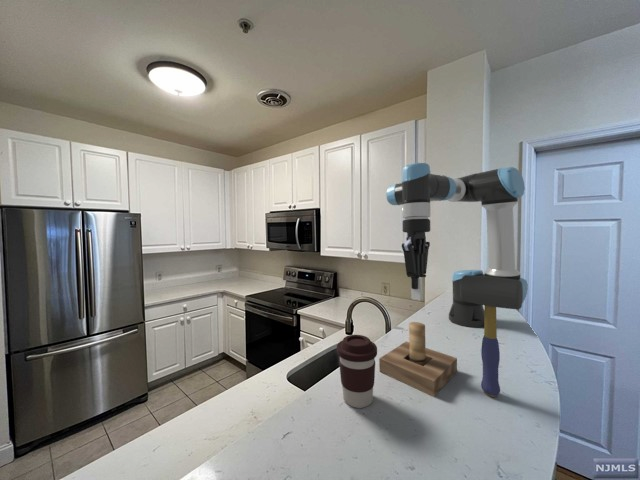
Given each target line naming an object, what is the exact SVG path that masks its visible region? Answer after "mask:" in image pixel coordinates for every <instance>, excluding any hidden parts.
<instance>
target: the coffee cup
mask: <svg viewBox="0 0 640 480" xmlns="http://www.w3.org/2000/svg"><path fill="white" fill-rule="evenodd" d="M336 354H337V355H338V356H339V361H338V363H339V364H338V365H339V374H340V383H341V386H342V387H341V388H342V397H343V400H344V402H345V403H346V405H349V406H350V407H353V408H359V409H361V408H366V407H368V406H370V405H371V404H372V402H373V400H374V399H373V395H374V385H375V377H376V376H375V375H376V374H375V373H376V360H375V358H377V355H378V347H377V345H376V344H375V342H373V341H371V340H370V338H369V337H367V336H365V335H363V334H349V335H346V336H344V338H343V339H342V340H340V341H339V342H338V343H337V344H336Z"/></svg>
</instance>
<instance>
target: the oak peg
mask: <svg viewBox="0 0 640 480" xmlns="http://www.w3.org/2000/svg"><path fill="white" fill-rule="evenodd" d="M408 331H409V332H408V333H409V334H408V336H409V337H408V340H409V341H408V342H409V346H410V354H409V358H410V361H411V362H414V363H416V364H419V365H421V366H424V365H426V348H427V347H426V324H425V323H422V322H418V321H412V322H409V323H408Z"/></svg>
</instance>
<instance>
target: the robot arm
mask: <svg viewBox="0 0 640 480" xmlns="http://www.w3.org/2000/svg"><path fill="white" fill-rule="evenodd" d="M525 190H526V188H525V182H524V177H523V175H522V174H521V172H520V171H519V169H518V168H516V167H513V166H509V167H501V168H500V167H499V168H496V169H492V170H486V171H482V172H478V173H471V174H469V175H465V176H461V177H457V178H452V177H449V176H446V175H441V174H440V175H439V174H433V173H431V167H430V164H429V163H425V162H414V163H410V164H407V165H405V166H404V167H403V168H402V175H401V182H400V183H396V184H393V185H390V186H389V187H388V188H387V190H386V192H385V196H386V201H387V202H388V203H389V205H392V206H402V209H401V211H402V218H403V220H402V232H403V233H406V239H405V240H406V241H405V243H401V248H402V251H403V258H404V264H405V265H404V266H405V272H406V277H407V278H410V283H411V284H410V286H411V287H410V291H411V294H410V295H411V296H410V297H411V300H414V301H419V302H420V301H423V298H424V297H423V295H424V294H423V278H426V277H427V269H428V258H429V248H430V245H431V243H430V241H427V237H426V233H430V232H431V219H429V218H430V217H431V202H441V201H443V202H444V201H448V202H453V203H456V202H458V203H460V202H461V203H462V202H463V203H478V202H481V207H483V209H485V211H486V233H487V257H488V258H487V260H488V268H487V269H485V270H484V271H483V270H482V269H464V270H463V269H462V270H461V269H460V270H456V271H454V272H453V273H452V279H451V280H452V281H451V282H452V304H451V306H450V310H449V312H448V320H449V321H450V322H452V323H454V324H456V325H459V326H462V327H469V328H483V327H484V313H485V307H484V305H480V304H475V303H471V302H467V301H464V300H462V298H461V296H460V283H461V279H462V277H463V276H464V275H476V276H493V277H501V278H508V279H514V280H519V281H521V282H522V286H523V300H522V304H523V303H524V301H525V300H526V297H527V294H528V288H529V286H528V285H529V284H528V281H527V280H526V279H524V278H521V271H519V270H518V269H517V268H516V255H515V250H516V249H515V227H514V226H515V225H514V207H515V206H516V205H517V204H518V202H519V198H521V197H522V196H524V194H525Z"/></svg>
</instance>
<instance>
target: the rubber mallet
mask: <svg viewBox="0 0 640 480" xmlns="http://www.w3.org/2000/svg"><path fill="white" fill-rule="evenodd" d="M460 296H461V298H462V300H464V301H467V302H471V303H475V304H480V305H483V306H484V311H485V313H484V328H483V329H484V331H483V332H484V333H483V336H482V340H481V351H480V352H481V353H480V354H481V355H480V356H481V361H482V363H481V364H482V378H481V379H482V380H481V383H480V387H481V389H482V391H483V393H484V394H485V395H486V396H489V397H492V398H496V397H498V396H499V394H500V392H501V387H500V382H499V366H500V359H501V358H500V357H501V356H500V352H501V351H500V344H499V341H498V335H497V334H498V333H497V332H498V331H497V329H498V327H497V323H498V322H497V308H500V309H509V310H510V309H511V310H520V309H521V308H522V307H523V303H522V300H523V286H522V282H521V281H519V280H514V279H508V278H501V277H493V276H476V275H464V276H463V277H462V279H461V283H460Z"/></svg>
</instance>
